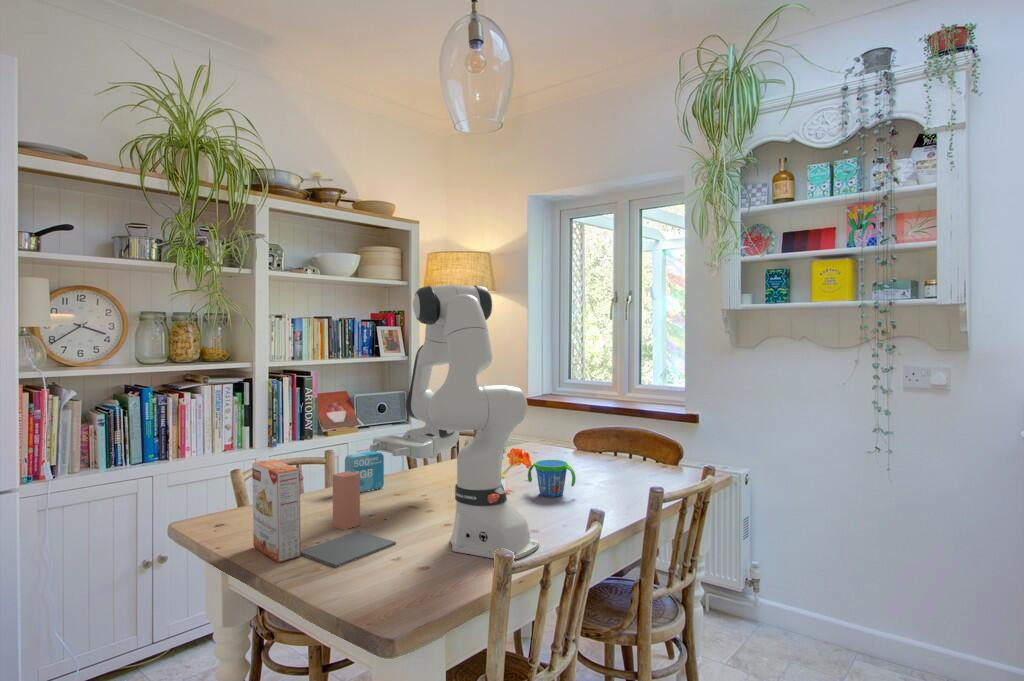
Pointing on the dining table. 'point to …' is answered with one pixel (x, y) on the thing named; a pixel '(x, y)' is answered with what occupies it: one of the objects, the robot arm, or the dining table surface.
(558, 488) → the snack cup
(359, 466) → the data package
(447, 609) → the dining table surface
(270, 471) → the cracker box
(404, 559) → the dining table surface
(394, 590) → the dining table surface
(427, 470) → the dining table surface
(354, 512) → the block
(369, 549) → the mat
